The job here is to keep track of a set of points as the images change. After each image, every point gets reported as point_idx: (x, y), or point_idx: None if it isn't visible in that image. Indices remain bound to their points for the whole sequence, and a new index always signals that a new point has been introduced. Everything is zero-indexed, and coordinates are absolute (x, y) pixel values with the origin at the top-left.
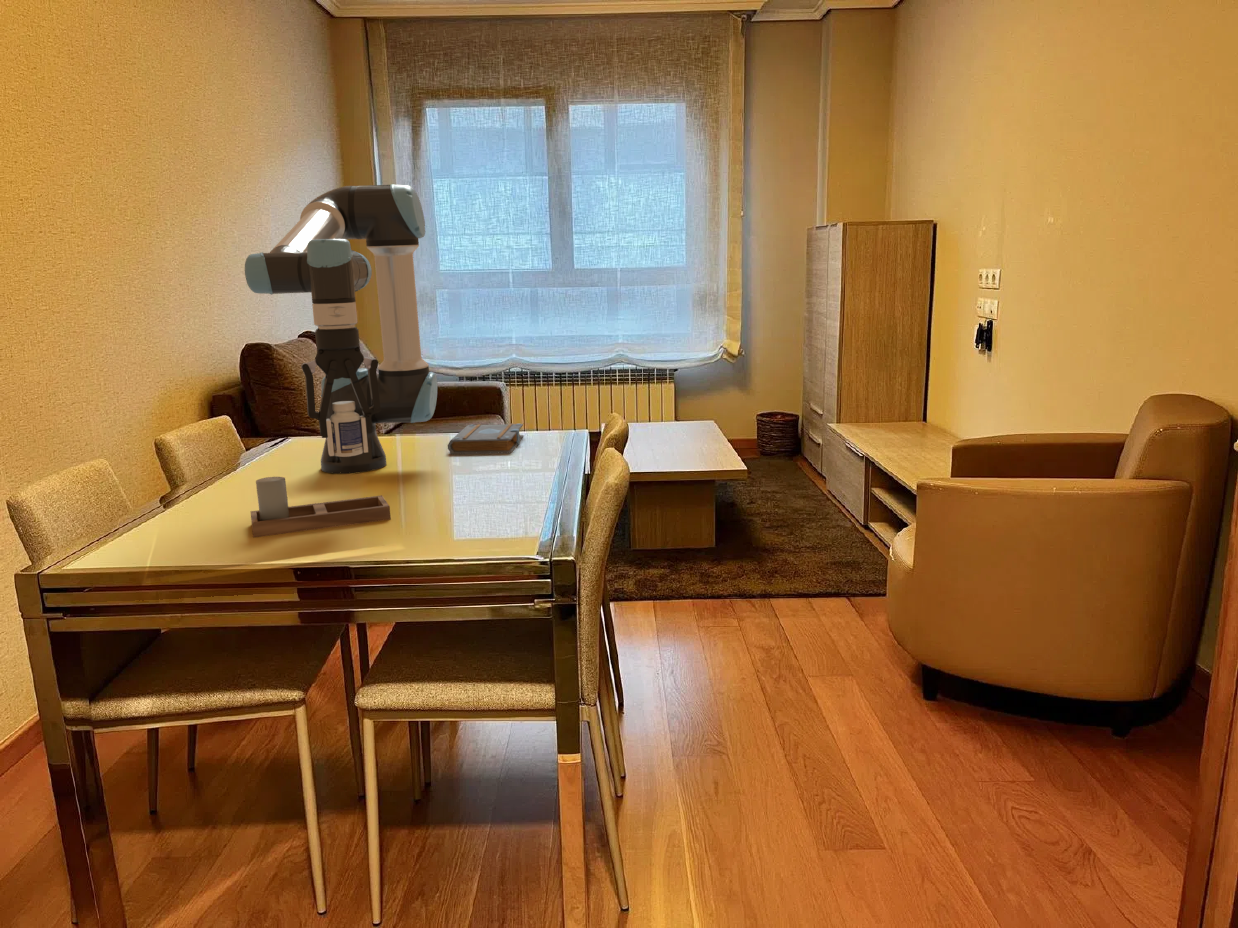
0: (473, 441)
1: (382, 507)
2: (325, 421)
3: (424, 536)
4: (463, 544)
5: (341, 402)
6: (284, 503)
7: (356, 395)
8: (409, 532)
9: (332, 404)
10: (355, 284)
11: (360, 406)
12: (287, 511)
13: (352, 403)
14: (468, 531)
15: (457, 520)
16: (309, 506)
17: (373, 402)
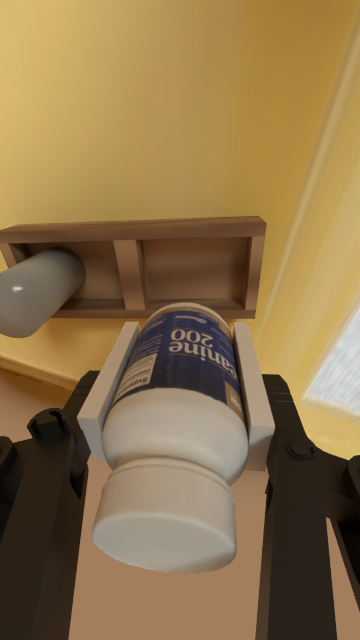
0: None
1: (241, 318)
2: (88, 448)
3: (273, 374)
4: (302, 415)
5: (148, 546)
6: (62, 304)
7: (262, 620)
8: (262, 351)
9: (94, 533)
10: None
11: (273, 496)
12: (73, 291)
13: (213, 566)
14: (335, 379)
15: (353, 327)
16: (106, 239)
17: (347, 569)
